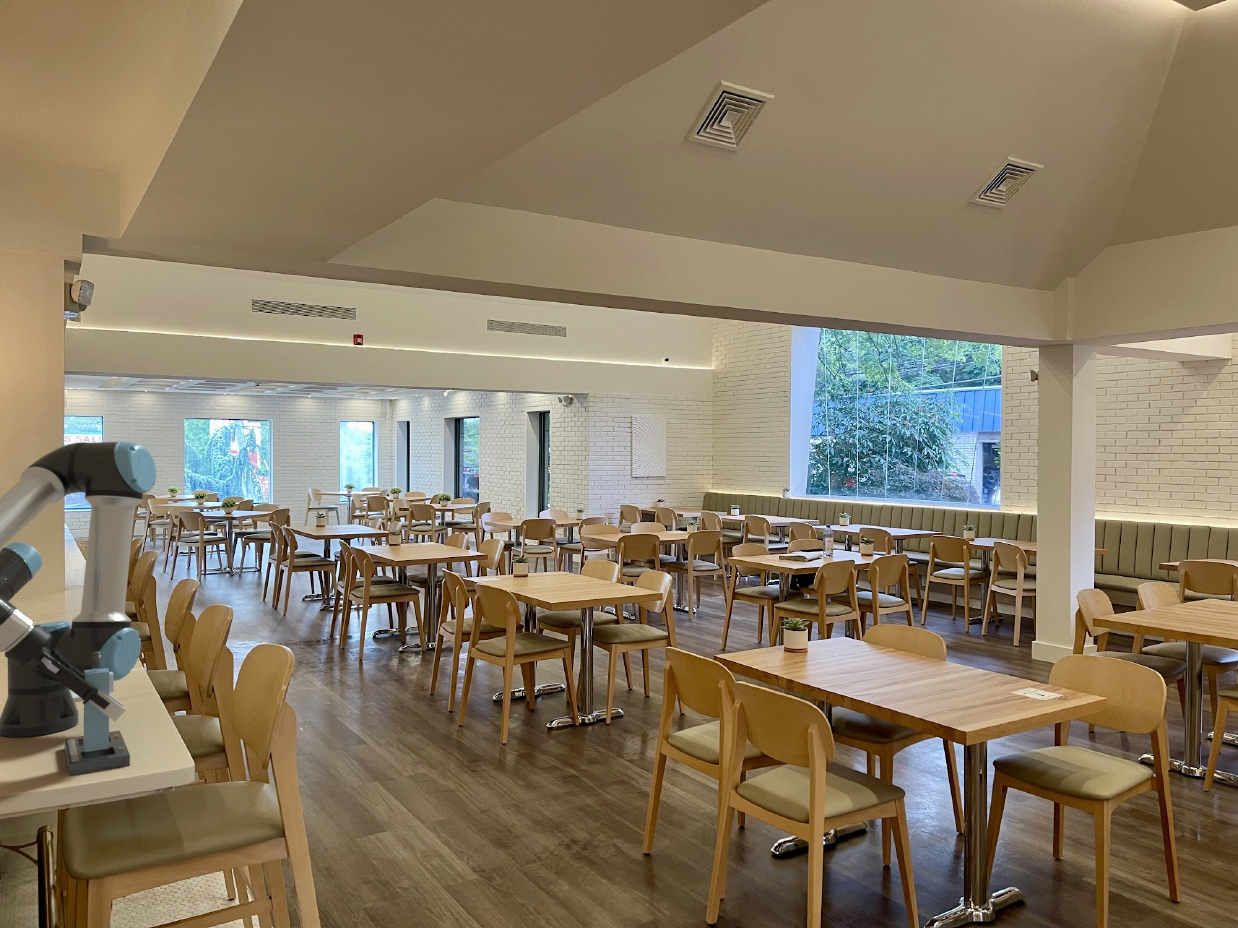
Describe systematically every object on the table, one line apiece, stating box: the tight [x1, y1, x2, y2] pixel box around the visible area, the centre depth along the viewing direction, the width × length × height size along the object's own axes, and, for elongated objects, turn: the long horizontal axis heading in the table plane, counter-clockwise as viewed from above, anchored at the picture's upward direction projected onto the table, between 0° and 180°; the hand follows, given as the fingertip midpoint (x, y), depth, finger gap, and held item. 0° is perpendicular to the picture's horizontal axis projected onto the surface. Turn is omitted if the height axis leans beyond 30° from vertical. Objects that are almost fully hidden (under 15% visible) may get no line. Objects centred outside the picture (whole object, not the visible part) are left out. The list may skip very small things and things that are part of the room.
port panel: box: [64, 730, 131, 776], centre depth 179 cm, size 20×10×2 cm, turn 34°
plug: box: [83, 652, 115, 752], centre depth 174 cm, size 4×5×19 cm
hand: (118, 712), depth 176 cm, fingers closed on plug, 4 cm apart
